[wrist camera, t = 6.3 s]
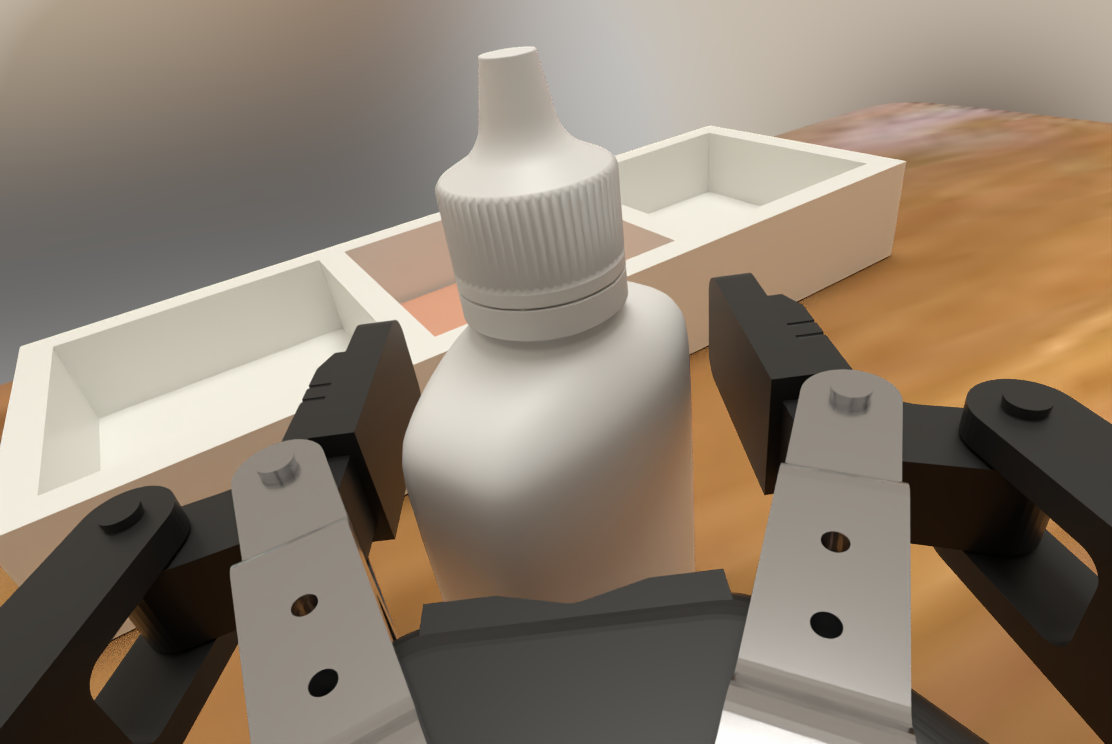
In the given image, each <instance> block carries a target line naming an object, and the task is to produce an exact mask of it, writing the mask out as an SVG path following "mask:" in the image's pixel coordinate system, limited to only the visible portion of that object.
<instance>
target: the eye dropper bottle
mask: <svg viewBox="0 0 1112 744" xmlns="http://www.w3.org/2000/svg"><path fill="white" fill-rule="evenodd" d="M478 66H479V67H478V75H479V77H478V78H479V128H478V137H477V140H476V142H475V145H474V148H473V149H472V150H471V152H470V153H469V155H468V156H466V157H465V158H464V159H462V160H461V161H459V162H458V163H456V164H455V165H454V166H452V167H451V168H449V169H448V170H447V171H446V172H444V173H443V175H442V176H441V177H440V179H439V180H438V182H437V184H436V187H435V194H436V198H437V203H438V206H439V211H440V215H441V220H442V224H443V228H444V232H445V237H446V241H447V245H448V250H449V254H450V258H451V262H452V267H453V271H454V276H455V280H456V284H457V288H458V293H459V297H460V301H461V305H462V310H463V314H464V318H465V320H466V322H467V323H468V326H467V327H466V328H465V329H464V331H463V332H462V333H461V334H460V335H459V337H458V338H457V339H456V340H455V342H454V343H453V344H452V346H451V347H450V349H449V350H448V351H447V353H446V354H445V355H444V357H443V358H442V360H441V361H440V363H439V365H438V366H437V368H436V369H435V371H434V373H433V374H432V376H431V378H430V379H429V381H428V383H427V385H426V387H425V389H424V391H423V393H422V395H421V397H420V399H419V401H418V403H417V405H416V407H415V409H414V412H413V414H412V417H411V419H410V422H409V425H408V428H407V430H406V433H405V437H404V441H403V450H402V468H403V474H404V480H405V485H406V488H407V492H408V495H409V498H410V501H411V505H412V508H413V511H414V514H415V517H416V521H417V524H418V527H419V530H420V534H421V537H422V540H423V543H424V546H425V549H426V552H427V555H428V557H429V560H430V563H431V566H432V569H433V572H434V575H435V578H436V581H437V584H438V587H439V590H440V593H441V596H442V599H443V602H447V601H456V600H464V599H472V598H481V597H489V596H504V597H513V598H522V599H531V600H541V601H550V602H559V603H577V602H580V601H583V600H586V599H589V598H592V597H595V596H598V595H601V594H603V593H606V592H609V591H612V590H615V589H618V588H620V587H623V586H626V585H629V584H632V583H635V582H638V581H640V580H643V579H646V578H650V577H658V576H666V575H675V574H683V573H692V572H695V539H694V490H693V449H692V409H691V380H690V357H689V342H688V334H687V328H686V322H685V318H684V316H683V313H682V311H681V310H680V308H679V307H678V306H677V304H676V303H675V302H674V301H673V300H672V299H671V298H670V297H669V296H668V295H666V294H665V293H663V292H661V291H659V290H657V289H654V288H652V287H649V286H645V285H642V284H638V283H634V282H629V281H627V271H626V258H625V245H624V232H623V219H622V206H621V193H620V180H619V167H618V162H617V159H616V158H615V157H614V156H613V155H612V154H611V153H610V152H609V151H608V150H606V149H605V148H603V147H600V146H597V145H594V144H591V143H588V142H585V141H582V140H579V139H575V138H574V137H573V136H571V135H570V134H568V132H567V131H566V130H565V129H564V127H563V126H562V125H561V124H560V122H559V119H558V116H557V114H556V111H555V108H554V105H553V102H552V98H551V95H550V92H549V89H548V85H547V82H546V79H545V76H544V73H543V69H542V66H541V63H540V60H539V56H538V53H537V50H536V47H515V48H507V49H501V50H496V51H491V52H487V53H484V54H481V55H480V56H478Z"/></svg>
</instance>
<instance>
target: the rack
mask: <svg viewBox="0 0 1112 744" xmlns="http://www.w3.org/2000/svg"><path fill="white" fill-rule="evenodd" d="M614 157H615V158H616V159H617V162H618V167H619V180H620V193H621V206H622V219H623V232H624V245H625V258H626V271H627V281H629V282H634V283H638V284H642V285H645V286H649V287H652V288H654V289H657V290H659V291H661V292H663V293H665V294H666V295H668V296H669V297H670V298H671V299H672V300H673V301H674V302H675V303H676V304H677V306H678V307H679V308H680V310H681V311H682V313H683V316H684V318H685V322H686V328H687V334H688V342H689V355H690V354H692V353H694V352H696V351H698V350H700V349H702V348H704V347H706V346H708V345H709V282H710V279H711V278H713V277H721V276H728V275H736V274H743V273H752V274H753V276H754V277H755V278H756V280H757V281H758V283H759V284H760V286H761V287H762V289H763V290H764V291H765V293H766V294H767V296H770V295H777V294H783V295H785V296H787V297H789V298H790V299H792V300H794V301H796V302H797V301H799V300H801V299H803V298H805V297H807V296H809V295H811V294H813V293H815V292H817V291H819V290H821V289H823V288H825V287H827V286H830V285H832V284H834V283H836V282H838V281H840V280H842V279H844V278H846V277H848V276H850V275H852V274H854V273H856V272H858V271H860V270H862V269H864V268H866V267H868V266H870V265H872V264H874V263H876V262H878V261H880V260H882V259H884V258H886V257H888V256H890V255H891V252H892V246H893V240H894V234H895V228H896V221H897V215H898V209H899V203H900V197H901V191H902V184H903V178H904V172H905V166H906V161H902V160H897V159H891V158H886V157H880V156H875V155H869V154H864V153H858V152H853V151H847V150H842V149H836V148H831V147H825V146H820V145H814V144H809V143H803V142H798V141H792V140H787V139H781V138H776V137H770V136H765V135H759V134H754V133H748V132H743V131H738V130H731V129H726V128H721V127H716V126H706V127H703V128H701V129H697V130H694V131H691V132H688V133H685V134H681V135H678V136H676V137H672V138H669V139H666V140H663V141H660V142H656V143H653V144H651V145H647V146H644V147H641V148H638V149H635V150H632V151H628V152H626V153H622V154H619V155H616V156H614ZM390 320H397V321H398V322H399V323H400V325H401V328H402V330H403V333H404V337H405V340H406V343H407V347H408V350H409V353H410V357H411V360H412V363H413V367H414V370H415V374H416V377H417V380H418V384H419V387H420V392H421V395H422V393H423V391H424V389H425V387H426V385H427V383H428V381H429V379H430V378H431V376H432V374H433V373H434V371H435V369H436V368H437V366H438V365H439V363H440V361H441V360H442V358H443V357H444V355H445V354H446V353H447V351H448V350H449V349H450V347H451V346H452V344H453V343H454V342H455V340H456V339H457V338H458V337H459V335H460V334H461V333H462V332H463V331H464V329H465V328H466V327H467V326H468V323H467V322H466V320H465V318H464V314H463V310H462V305H461V301H460V297H459V293H458V288H457V284H456V280H455V276H454V271H453V267H452V262H451V258H450V254H449V250H448V245H447V241H446V237H445V232H444V228H443V224H442V220H441V215H440V212H439V213H435V214H432V215H429V216H426V217H423V218H420V219H417V220H414V221H410V222H407V223H404V224H401V225H398V226H395V227H392V228H389V229H385V230H382V231H379V232H376V233H373V234H370V235H367V236H364V237H360V238H357V239H354V240H351V241H348V242H345V243H342V244H339V245H335V246H332V247H330V248H326V249H323V250H320V251H317V252H314V253H310V254H307V255H304V256H301V257H298V258H295V259H292V260H289V261H286V262H283V263H279V264H276V265H273V266H270V267H267V268H264V269H261V270H258V271H254V272H251V273H248V274H245V275H242V276H239V277H236V278H233V279H230V280H227V281H223V282H220V283H217V284H214V285H211V286H208V287H205V288H201V289H199V290H196V291H192V292H189V293H186V294H183V295H180V296H176V297H173V298H170V299H167V300H164V301H161V302H158V303H155V304H152V305H148V306H145V307H142V308H139V309H136V310H133V311H130V312H127V313H123V314H121V315H117V316H114V317H111V318H108V319H105V320H102V321H99V322H96V323H93V324H89V325H86V326H83V327H80V328H77V329H74V330H71V331H67V332H64V333H61V334H58V335H55V336H52V337H49V338H46V339H43V340H40V341H36V342H33V343H30V344H27V345H24V346H21V347H20V351H19V356H18V361H17V366H16V371H15V376H14V381H13V386H12V391H11V396H10V400H9V405H8V410H7V415H6V420H5V425H4V430H3V435H2V440H1V445H0V566H1V567H2V568H3V569H4V570H5V572H6V573H7V574H8V575H9V576H10V577H11V578H12V579H13V581H14V582H15V583H16V584H17V585H18V586H19V587H20V586H21V585H22V584H23V583H24V582H25V580H26V579H27V578H28V577H29V576H30V575H31V574H32V573H33V572H34V571H35V570H36V569H37V568H38V567H39V565H40V564H41V563H42V562H43V561H44V560H45V559H46V558H47V557H48V556H49V555H50V554H51V553H52V552H53V550H54V549H55V548H56V547H57V546H58V545H59V544H60V543H61V542H62V541H63V540H64V539H65V538H66V536H67V535H68V534H69V533H70V532H71V531H72V530H73V529H74V528H75V527H76V526H77V525H78V524H79V523H80V521H81V520H82V519H83V518H84V517H85V516H86V515H88V514H89V513H90V512H91V511H92V510H94V509H95V508H96V507H98V506H99V505H101V504H102V503H104V502H105V501H107V500H109V499H111V498H112V497H115V496H117V495H119V494H121V493H123V492H126V491H129V490H132V489H135V488H139V487H144V486H163V487H166V488H168V489H170V490H171V491H172V492H173V494H174V495H175V497H176V498H177V500H178V502H179V503H180V505H181V506H184V505H187V504H190V503H193V502H195V501H198V500H201V499H204V498H207V497H210V496H213V495H216V494H219V493H222V492H225V491H227V490H230V489H231V481H232V478H233V475H234V474H235V472H236V470H237V469H238V468H239V466H240V465H241V464H242V463H243V462H244V461H246V460H247V459H248V458H249V457H251V456H252V455H254V454H255V453H257V452H258V451H260V450H262V449H264V448H266V447H268V446H271V445H273V444H276V443H279V442H281V441H282V439H283V437H284V435H285V433H286V431H287V429H288V427H289V425H290V423H291V421H292V419H293V417H294V415H295V413H296V411H297V409H298V407H299V404H300V403H302V398H303V396H304V394H305V392H306V390H307V389H309V384H310V382H311V380H312V378H313V376H314V374H315V372H316V370H317V368H318V367H320V366H321V365H322V364H323V363H324V362H325V361H326V360H327V359H328V358H330V357H331V356H332V355H333V354H334V353H338V352H345V351H346V349H347V347H348V345H349V342H350V340H351V338H352V336H353V333H354V331H355V329H356V327H357V326H358V325H360V324H368V323H375V322H383V321H390ZM406 494H408V492H407V488H406V491H405V495H406ZM135 628H136V627H135V626H134V624H133V623H132V622H131V620H130V619H129V618H127V620H126V621H125V623H124V624H123V625H122V627H121V628H120V629H119V631H118V632H117V633H116V635H115V636H114V638H116V637H118V636H120V635H122V634H124V633H127V632H129V631H131V630H133V629H135ZM114 638H113V639H114Z"/></svg>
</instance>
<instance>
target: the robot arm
mask: <svg viewBox="0 0 1112 744" xmlns="http://www.w3.org/2000/svg"><path fill="white" fill-rule="evenodd" d="M709 358H710V365H711V370H712V374H713V378H714V380H715V383H716V385H717V387H718V390H719V392H720V394H721V397H722V399H723V401H724V403H725V406H726V408H727V410H728V413H729V415H730V417H731V420H732V422H733V424H734V426H735V429H736V431H737V433H738V436H739V438H740V440H741V442H742V445H743V447H744V449H745V452H746V454H747V456H748V459H749V461H750V463H751V465H752V468H753V470H754V472H755V475H756V477H757V479H758V481H759V484H760V486H761V488H762V491H763V493H764V495H768V494H774V495H773V500H772V504H771V509H770V514H769V518H768V523H767V527H766V532H765V537H764V541H763V546H762V550H761V555H760V559H759V564H758V569H757V573H756V578H755V582H754V587H753V591H752V596H751V595H746V594H741V593H733V592H730V588H729V585H728V582H727V579H726V576H725V573H724V570H723V569H717V570H709V571H700V572H692V573H683V574H675V575H666V576H658V577H650V578H646V579H643V580H640V581H638V582H635V583H632V584H629V585H626V586H623V587H620V588H618V589H615V590H612V591H609V592H606V593H603V594H601V595H598V596H595V597H592V598H589V599H586V600H583V601H580V602H577V603H559V602H550V601H541V600H531V599H522V598H513V597H504V596H489V597H481V598H472V599H464V600H456V601H447V602H439V603H430V604H423V611H422V617H421V624H420V629H419V630H416V631H414V632H411V633H409V634H407V635H405V636H402V637H400V638H399V635H398V633H397V630H396V628H395V625H394V622H393V620H392V617H391V614H390V612H389V609H388V606H387V604H386V601H385V599H384V596H383V593H382V591H381V588H380V585H379V583H378V580H377V577H376V575H375V572H374V570H373V567H372V565H371V562H370V560H369V558H368V556H369V552H370V548H371V544H372V542H375V541H383V540H391V539H395V537H396V532H397V527H398V523H399V518H400V514H401V509H402V504H403V500H404V495H405V491H406V485H405V480H404V474H403V468H402V450H403V441H404V437H405V433H406V430H407V428H408V425H409V422H410V419H411V417H412V414H413V412H414V409H415V407H416V405H417V403H418V401H419V399H420V397H421V392H420V387H419V384H418V380H417V377H416V374H415V370H414V367H413V363H412V360H411V357H410V353H409V350H408V347H407V343H406V340H405V337H404V333H403V330H402V328H401V325H400V323H399V322H398V321H397V320H390V321H383V322H375V323H368V324H360V325H358V326H357V327H356V329H355V331H354V333H353V336H352V338H351V340H350V342H349V345H348V347H347V349H346V351H345V352H338V353H334V354H333V355H332V356H331V357H330V358H328V359H327V360H326V361H325V362H324V363H323V364H322V365H321V366H320V367H318V368H317V370H316V372H315V374H314V376H313V378H312V380H311V382H310V384H309V389H307V390H306V392H305V394H304V396H303V398H302V403H300V404H299V407H298V409H297V411H296V413H295V415H294V417H293V419H292V421H291V423H290V425H289V427H288V429H287V431H286V433H285V435H284V437H283V439H282V441H281V442H279V443H276V444H273V445H271V446H268V447H266V448H264V449H262V450H260V451H258V452H257V453H255V454H254V455H252V456H251V457H249V458H248V459H247V460H246V461H244V462H243V463H242V464H241V465H240V466H239V468H238V469H237V470H236V472H235V474H234V475H233V478H232V481H231V489H230V490H227V491H225V492H222V493H219V494H216V495H213V496H210V497H207V498H204V499H201V500H198V501H195V502H193V503H190V504H187V505H184V506H181V505H180V503H179V502H178V500H177V498H176V497H175V495H174V494H173V492H172V491H171V490H170V489H168V488H166V487H163V486H144V487H139V488H135V489H132V490H129V491H126V492H123V493H121V494H119V495H117V496H115V497H112V498H111V499H109V500H107V501H105V502H104V503H102V504H101V505H99V506H98V507H96V508H95V509H94V510H92V511H91V512H90V513H89V514H88V515H86V516H85V517H84V518H83V519H82V520H81V521H80V523H79V524H78V525H77V526H76V527H75V528H74V529H73V530H72V531H71V532H70V533H69V534H68V535H67V536H66V538H65V539H64V540H63V541H62V542H61V543H60V544H59V545H58V546H57V547H56V548H55V549H54V550H53V552H52V553H51V554H50V555H49V556H48V557H47V558H46V559H45V560H44V561H43V562H42V563H41V564H40V565H39V567H38V568H37V569H36V570H35V571H34V572H33V573H32V574H31V575H30V576H29V577H28V578H27V579H26V580H25V582H24V583H23V584H22V585H21V586H20V587H19V588H18V589H17V590H16V591H15V592H14V593H13V594H12V596H11V597H10V598H9V599H8V600H7V601H6V602H5V603H4V604H3V605H2V606H1V607H0V744H183V742H184V740H185V739H186V737H187V735H188V733H189V731H190V730H191V728H192V726H193V724H194V722H195V720H196V719H197V717H198V715H199V713H200V711H201V710H202V708H203V706H204V704H205V702H206V701H207V699H208V697H209V695H210V693H211V692H212V690H213V688H214V686H215V684H216V683H217V681H218V679H219V677H220V675H221V673H222V672H223V670H224V668H225V666H226V664H227V663H228V661H229V659H230V657H231V655H232V654H233V652H234V650H235V648H236V646H237V645H238V644H239V652H240V660H241V668H242V676H243V684H244V692H245V700H246V708H247V716H248V724H249V732H250V740H251V744H989V743H988V742H986V741H985V740H983V739H982V738H980V737H979V736H978V735H976V734H975V733H973V732H972V731H971V730H969V729H968V728H966V727H965V726H964V725H962V724H961V723H959V722H958V721H956V720H955V719H954V718H952V717H951V716H949V715H948V714H947V713H945V712H944V711H942V710H941V709H940V708H938V707H937V706H935V705H934V704H933V703H931V702H930V701H928V700H927V699H925V698H924V697H923V696H921V695H920V694H918V693H917V692H916V691H914V690H913V689H911V584H910V543H911V544H919V545H926V546H933V547H934V549H935V550H936V552H937V553H938V554H939V556H940V557H941V558H942V559H943V560H944V561H945V563H946V564H947V565H948V566H949V567H950V568H951V569H952V570H953V572H954V573H955V574H956V575H957V576H958V577H959V578H960V580H961V581H962V582H963V583H964V584H965V585H966V586H967V588H968V589H969V590H970V591H971V592H972V593H973V594H974V595H975V597H976V598H977V599H978V600H979V601H980V602H981V603H982V605H983V606H984V607H985V608H986V609H987V610H988V611H989V613H990V614H991V615H992V616H993V617H994V618H995V619H996V620H997V622H998V623H999V624H1000V625H1001V626H1002V627H1003V628H1004V630H1005V631H1006V632H1007V633H1008V634H1009V635H1010V636H1011V638H1012V639H1013V640H1014V641H1015V642H1016V643H1017V644H1018V645H1019V647H1020V648H1021V649H1022V650H1023V651H1024V652H1025V653H1026V655H1027V656H1028V657H1029V658H1030V659H1031V660H1032V661H1033V663H1034V664H1035V665H1036V666H1037V667H1038V668H1039V669H1040V670H1041V672H1042V673H1043V674H1044V675H1045V676H1046V677H1047V678H1048V680H1049V681H1050V682H1051V683H1052V684H1053V685H1054V686H1055V688H1056V689H1057V690H1058V691H1059V692H1060V693H1061V694H1062V695H1063V697H1064V698H1065V699H1066V700H1067V701H1068V702H1069V703H1070V705H1071V706H1072V707H1073V708H1074V709H1075V710H1076V711H1077V713H1078V714H1079V715H1080V716H1081V717H1082V718H1083V719H1084V720H1085V722H1086V723H1087V724H1088V725H1089V726H1090V727H1091V728H1092V730H1093V731H1094V732H1095V733H1096V734H1097V735H1098V736H1099V738H1100V739H1101V740H1102V741H1103V742H1104V743H1105V744H1112V424H1110V423H1109V422H1107V421H1106V420H1104V419H1103V418H1101V417H1100V416H1098V415H1097V414H1095V413H1094V412H1092V411H1091V410H1089V409H1088V408H1086V407H1085V406H1083V405H1082V404H1080V403H1079V402H1077V401H1076V400H1074V399H1073V398H1071V397H1070V396H1068V395H1066V394H1065V393H1063V392H1061V391H1059V390H1056V389H1054V388H1051V387H1049V386H1046V385H1043V384H1039V383H1035V382H1030V381H1025V380H1017V379H996V380H990V381H986V382H982V383H980V384H978V385H976V386H974V387H973V388H972V389H970V391H969V392H968V394H967V397H966V401H965V405H964V408H957V407H943V406H929V405H918V404H911V403H906V402H903V401H902V396H901V394H900V392H899V391H898V390H897V388H896V387H895V386H893V385H892V384H891V383H890V382H888V381H886V380H885V379H883V378H881V377H879V376H876V375H873V374H870V373H866V372H862V371H857V370H852V368H851V367H850V366H849V364H848V363H847V362H846V360H845V359H844V358H843V357H842V355H841V354H840V353H839V351H838V350H837V349H836V348H835V346H834V345H833V344H832V342H831V341H830V340H829V338H828V337H827V336H826V335H824V334H823V331H822V329H821V328H820V327H819V325H818V324H817V323H814V319H813V318H812V316H811V315H810V314H809V313H808V311H807V310H806V309H805V307H804V306H803V305H802V304H800V303H798V302H796V301H794V300H792V299H790V298H789V297H787V296H785V295H783V294H777V295H770V296H767V294H766V293H765V291H764V290H763V289H762V287H761V286H760V284H759V283H758V281H757V280H756V278H755V277H754V276H753V274H752V273H743V274H736V275H728V276H721V277H713V278H711V279H710V282H709ZM1050 518H1051V519H1052V520H1053V521H1054V522H1055V523H1056V524H1058V525H1059V526H1060V527H1061V528H1062V529H1063V530H1064V531H1066V532H1067V533H1068V534H1069V535H1070V536H1071V537H1072V538H1074V539H1075V540H1076V541H1077V542H1078V543H1079V544H1080V545H1081V546H1082V547H1083V548H1084V549H1085V550H1086V551H1087V552H1088V554H1089V555H1090V557H1091V558H1092V560H1093V562H1094V564H1095V566H1096V569H1097V573H1098V576H1097V575H1096V574H1095V573H1094V572H1093V571H1091V570H1090V569H1089V568H1088V567H1087V566H1086V565H1085V564H1084V563H1083V562H1081V561H1080V560H1079V559H1078V558H1077V557H1076V556H1075V555H1074V554H1073V553H1071V552H1070V551H1069V550H1068V549H1067V548H1066V547H1065V546H1064V545H1063V544H1061V543H1060V542H1059V541H1058V540H1057V539H1056V538H1055V537H1054V536H1053V535H1052V534H1050V533H1049V532H1048V531H1047V530H1046V526H1047V524H1048V521H1049V519H1050ZM127 618H129V619H130V620H131V622H132V623H133V624H134V626H135V627H136V628H137V629H138V631H139V632H140V633H141V634H140V636H139V637H138V639H137V640H136V642H135V643H134V644H133V646H132V647H131V649H130V650H129V652H128V653H127V654H126V656H125V657H124V659H123V660H122V662H121V663H120V664H119V666H118V667H117V669H116V670H115V672H114V673H113V674H112V676H111V677H110V679H109V680H108V682H107V683H106V684H105V686H104V687H103V689H102V690H101V692H100V693H99V695H98V696H97V697H96V699H95V700H93V698H92V696H91V693H90V677H91V673H92V670H93V667H94V665H95V663H96V661H97V660H98V658H99V657H100V655H101V654H102V653H103V651H104V650H105V648H106V647H107V646H108V644H109V643H110V642H111V640H112V639H113V638H114V636H115V635H116V633H117V632H118V631H119V629H120V628H121V627H122V625H123V624H124V623H125V621H126V620H127Z"/></svg>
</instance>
